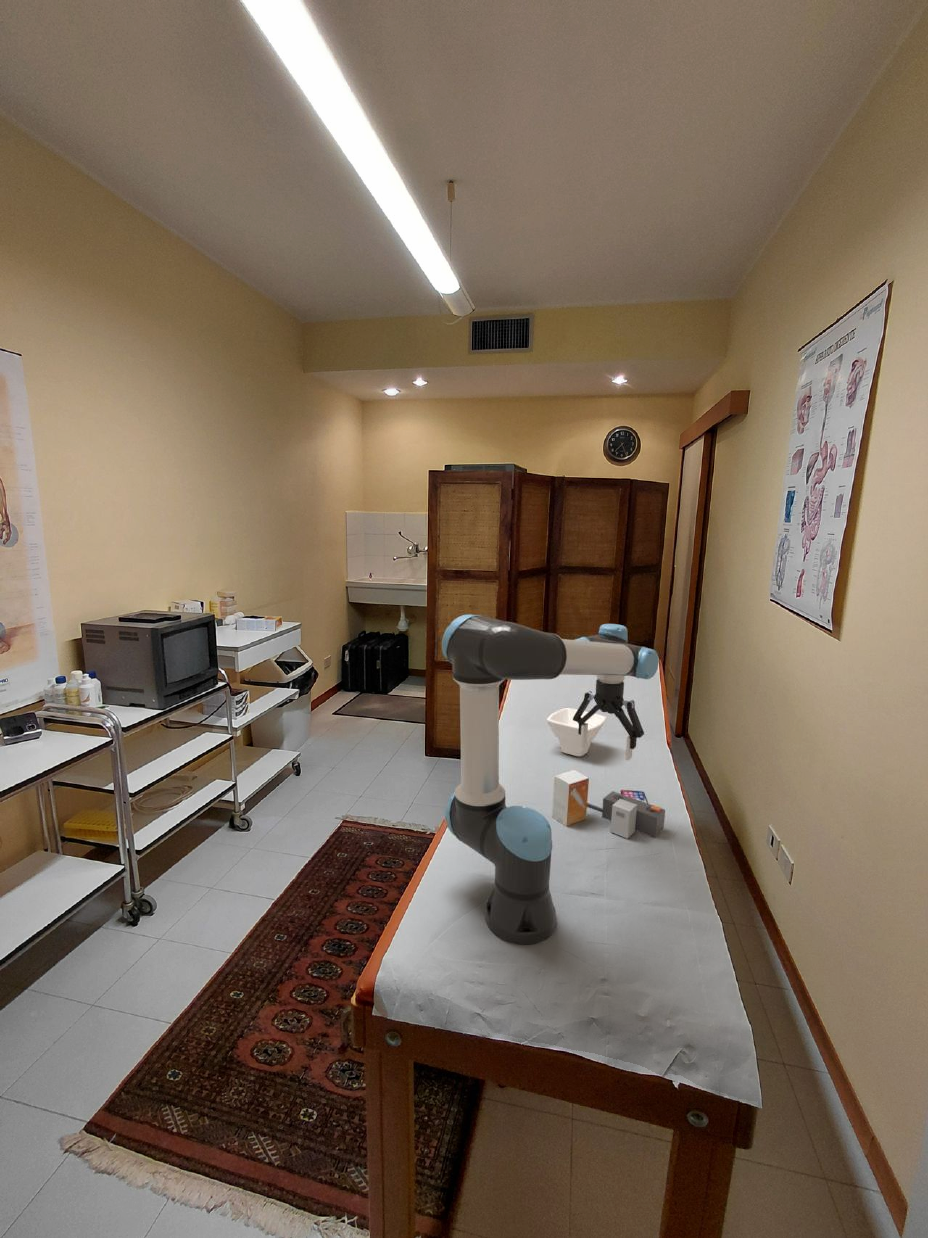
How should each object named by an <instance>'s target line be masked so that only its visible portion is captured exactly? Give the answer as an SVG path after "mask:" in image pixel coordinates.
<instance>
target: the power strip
mask: <svg viewBox="0 0 928 1238" xmlns="http://www.w3.org/2000/svg"><path fill="white" fill-rule="evenodd" d="M602 799H603V800H602V807H599V806H597V805H594V804H592V803H589V802H587V808H590V809H592V810H595V811H597V812H600V813H601V814H602V815H601V817H602V818H603V819H606V820H607V821H610V822H611V817H612V805H613V804H614V803H616V802H617V801H618V800H619V799H623V800H625V801H628V802H631V803H634V804H637V812H636V824H635V831H636V832H639V833H641V834H644V835H646V836H649V837H651V838H654V839H656V838H657V837H658V836H659V835H660V833H662V832H663V831H664V829H665V818H666V817H665V816H666V809H665V808H663V807H661V806H658V805H654V804H650V803H649V802H648V803H645V802H642V801H639V800H636V799H633V798H630V797H628V796H625V795H622V794H621V793H619V792H616V791H614V790H613V791H611V792H609V793H608V794H607V795H606V796H605V797H603V798H602Z"/></svg>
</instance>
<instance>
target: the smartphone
mask: <svg viewBox="0 0 928 1238" xmlns="http://www.w3.org/2000/svg"><path fill="white" fill-rule="evenodd" d="M620 794H622V795H625V796H628V797H630V798H633V799H636V800H639V801H642V802H645V803H648V804H649V802H648V798H647V796H646V794H645V792H644V791H641V790H629V789H627V790H626V789H621V790H620Z"/></svg>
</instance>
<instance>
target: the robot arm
mask: <svg viewBox="0 0 928 1238" xmlns="http://www.w3.org/2000/svg"><path fill="white" fill-rule="evenodd" d="M628 641H629V640H628V628H627V627H626V626H625V625H621V624H616V623H604V624H601V625H600V626H599V630H598V634H595V635H590V636H582V637H580V638H575V639H565V638H561V637H560V636H559V635H557V634H556V633H553V632H545V631H541V630H538V629H533V628H531V627H528V626H525V625H522V624H519V623H516V622H511V621H507V620H506V621H505V620H500V619H496V618H491V617H487V616H484V615H482V614H463V615H460V616H458V617H456V618H454V620H452V621H451V622H450V624H449V626H447V627H446V629H445V631H444V634H443V636H442V640H441V651H442V655H443V656H444V658H446V660H447V662H449V663H450V664H452V679H453V681H454V682H455V683H457V684H458V685H459V709H460V710H459V712H460V713H459V714H460V715H459V716H460V717H459V718H460V721H459V722H460V725H459V726H460V730H459V731H460V782H461V783H459V784H458V785H457V786H456V787H455V788H454V789H455V790H454V792H453V793H452V794H451V795H450V797H449V799H450V801H449V802H447V804H446V807H445V811H444V814H445V816H444V817H445V823H446V826H447V828H448V831H449V832H450V833H451V834H452V835H453V836H454V837H455V838H456V839H457V840H458V841H460V842H461V843H463V844H464V845H466V846H468V847H469V848H470V849H472V850H474V852H476V853H478V854H479V855H481V856H482V857H483V858H485V859H487V861H489V862H491V864H493V865H494V867H495V868H494V884H493V886H492V888H491V891H490V892H489V896H488V898H487V900H486V905H485V922H486V925H487V927H488V928H489V929H490V931H491V932H492V933H493V934H494V935H495V936H497V937H499V938H501V939H502V940H504V941H506V942H508V943H513V944H518V945H531V944H532V945H533V944H538V943H540V942H543V941H544V940H546V939H547V938H549V937H550V936H551V935H552V934H553V932H554V931H555V929H556V919H557V913H556V908H555V905H554V902H553V897H552V894H551V891H550V878H551V865H552V864H551V861H552V851H553V838H552V832H553V831H552V828H551V825H550V823H549V821H548V820H547V818H546V817H545V816H544V815H543V814H542V813H540V812H538V811H537V810H535V809H533V808H530V807H525V808H524V807H523V806H521V805H512V806H508V807H507V805H506V789H505V787H504V786H503V785H502V784H501V783H500V777H499V776H500V760H499V759H500V758H499V757H500V752H499V751H500V750H499V749H500V723H499V722H500V711H499V710H500V708H499V707H500V685H501V684H502V683H503V682H504V681H505V680H510V681H511V680H513V681H517V680H518V681H522V680H523V681H532V680H553V679H554V680H555V679H557V678H558V677H559V676H562V675H565V676H567V675H568V676H571V675H573V676H595V677H596V681H595V693H593V692H592V691H591V690H589V691H587V692H585V693H584V697H583V700H582V702H581V704H580V706H578V709H577V712H576V714H575V715H574V717H573V721H576V722H578V724H579V729H578V733H579V735H581V742H580V747H584V746H586V745H587V733H588V723H585V722H586V721H587V720H588V719H589V718H590V717H591V716H593V715H594V714H597V712H598V711H601V712H603V713H608V714H610V715H613V714H614V715H615V717H616V718H617V719H618V721H619V723H621V725H622V727H623V728H624V730H625V731H626V732H627V734H628V736H627V737H626V747H625V748H626V749H625V761H626V762H627V761H628V762H629V760H631V759H632V758H633V750H635V748H636V747H637V741H638V740H637V739H640V738H642V737H643V736H644V735H645V731H644V729H643V726H642V724H641V721H640V719H639V716H638V714H637V711H636V709H635V701H634V700H633V699H631V700H630V701H629V700H624V692H625V691H624V688H625V682H624V681H625V676H626V677H634V678H636V679H642V680H650V679H651V678H653V677H654V676H655V675H656V673H657V671H658V669H659V665H660V664H659V663H660V658H659V655H658V653H657V651H656V650H655V649H652V648H648V647H646V646H640V645H634V644H630V643H628ZM592 700H594V701H595V705H594V706H593V707H592V708H591V709H590V710H589V711H587V712H588V713H587V714H586V715H585V716H584V717H583V718H581V716H582V714H583V712H584V711H586V709H587V708H588V706H589V704H590V703H591V701H592ZM623 707H624V708H625V709H623ZM625 710H626V711H627V715H628V716H627V715H626V713H625ZM628 717H629V718H628Z"/></svg>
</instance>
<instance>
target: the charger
mask: <svg viewBox="0 0 928 1238" xmlns="http://www.w3.org/2000/svg"><path fill="white" fill-rule="evenodd" d="M636 812H637V804H634V803H631V802H628V801H625V800H623V799H619V800H618V801H617V802H616V803H614V804H613V805H612V817H611V821H610V831H609V832H610V833H613V834H615V835H618V836H621V837H623V838H624V839H629V838H630V837H631V836H632V835H633V834H634V833H635V831H636V830H635V824H636Z"/></svg>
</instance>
